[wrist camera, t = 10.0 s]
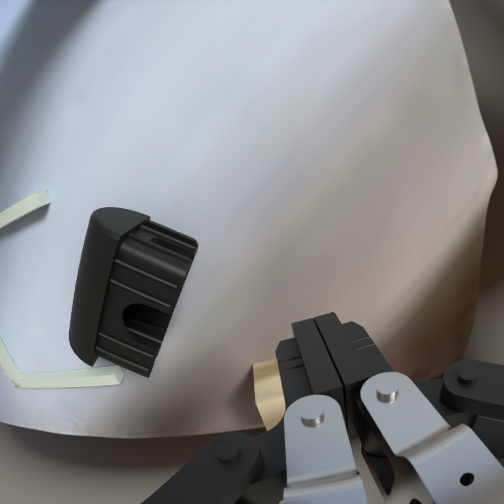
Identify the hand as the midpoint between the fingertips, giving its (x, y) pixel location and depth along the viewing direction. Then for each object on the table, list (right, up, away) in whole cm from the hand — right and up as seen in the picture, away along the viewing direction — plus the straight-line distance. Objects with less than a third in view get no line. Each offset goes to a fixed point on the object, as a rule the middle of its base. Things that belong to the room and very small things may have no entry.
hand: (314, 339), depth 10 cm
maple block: (+1, -9, +16) cm, 18 cm away
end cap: (-11, +1, +13) cm, 17 cm away
